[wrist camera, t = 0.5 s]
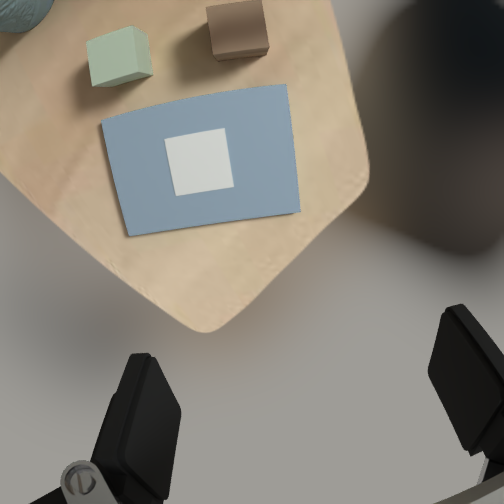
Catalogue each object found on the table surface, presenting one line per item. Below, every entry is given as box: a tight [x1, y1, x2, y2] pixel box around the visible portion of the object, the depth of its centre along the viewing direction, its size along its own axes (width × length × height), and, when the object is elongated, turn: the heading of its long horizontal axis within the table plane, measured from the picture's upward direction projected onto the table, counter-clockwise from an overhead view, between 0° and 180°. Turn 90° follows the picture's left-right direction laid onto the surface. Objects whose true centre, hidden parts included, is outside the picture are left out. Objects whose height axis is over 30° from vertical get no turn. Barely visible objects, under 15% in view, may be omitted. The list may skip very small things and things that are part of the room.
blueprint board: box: [101, 84, 301, 236], centre depth 33 cm, size 14×20×1 cm
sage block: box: [86, 25, 153, 87], centre depth 26 cm, size 5×5×5 cm
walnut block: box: [206, 0, 269, 61], centre depth 26 cm, size 5×5×5 cm
